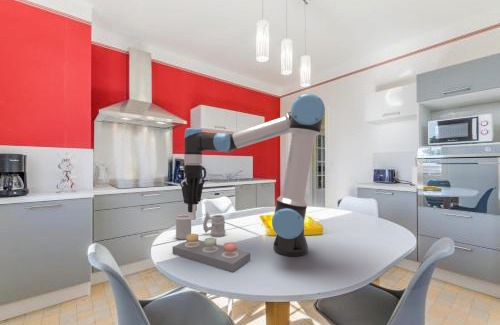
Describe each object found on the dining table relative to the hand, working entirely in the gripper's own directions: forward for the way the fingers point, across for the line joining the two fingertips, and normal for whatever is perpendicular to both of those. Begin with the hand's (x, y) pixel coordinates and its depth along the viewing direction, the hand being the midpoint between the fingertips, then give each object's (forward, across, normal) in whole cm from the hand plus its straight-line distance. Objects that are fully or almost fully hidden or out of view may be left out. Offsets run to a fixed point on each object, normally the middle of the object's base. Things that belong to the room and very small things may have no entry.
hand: (192, 219), depth 102 cm
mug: (+14, -23, -7) cm, 28 cm away
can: (+14, -11, -17) cm, 25 cm away
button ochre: (+9, 0, 0) cm, 9 cm away
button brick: (+9, 0, +20) cm, 22 cm away
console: (+14, 0, +10) cm, 17 cm away
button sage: (+9, 0, +10) cm, 14 cm away
